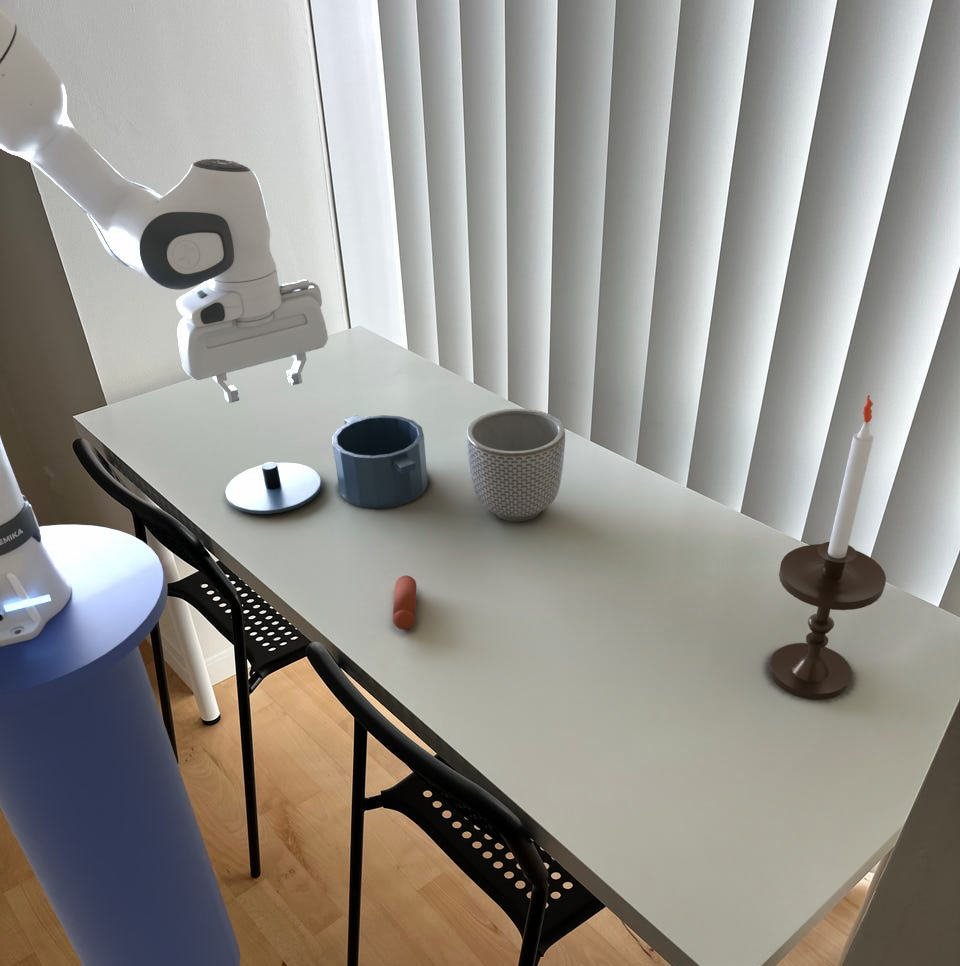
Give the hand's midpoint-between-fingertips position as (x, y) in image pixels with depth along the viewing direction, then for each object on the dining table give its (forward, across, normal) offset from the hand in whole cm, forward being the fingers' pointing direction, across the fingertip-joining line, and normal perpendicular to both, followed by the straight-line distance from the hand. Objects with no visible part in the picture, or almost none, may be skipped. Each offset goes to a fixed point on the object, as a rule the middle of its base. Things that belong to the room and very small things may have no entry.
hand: (264, 392), depth 137 cm
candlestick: (+18, -35, +72) cm, 82 cm away
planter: (+18, -28, +22) cm, 40 cm away
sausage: (+18, -2, +34) cm, 38 cm away
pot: (+18, -15, +4) cm, 24 cm away
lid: (+18, 0, -4) cm, 18 cm away
